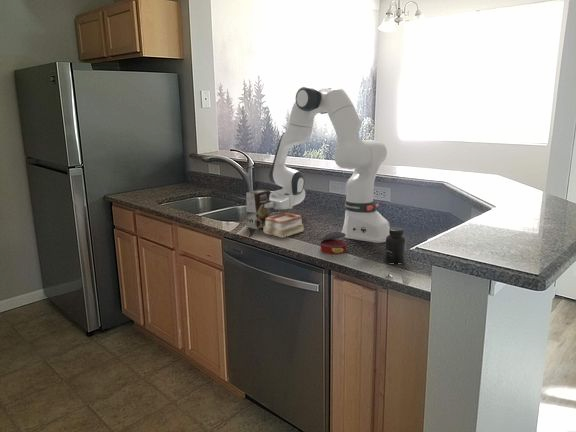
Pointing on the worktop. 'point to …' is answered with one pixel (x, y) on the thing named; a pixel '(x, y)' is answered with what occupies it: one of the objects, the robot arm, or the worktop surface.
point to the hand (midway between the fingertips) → (257, 204)
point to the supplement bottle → (395, 246)
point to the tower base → (283, 232)
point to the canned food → (333, 243)
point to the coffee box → (257, 208)
